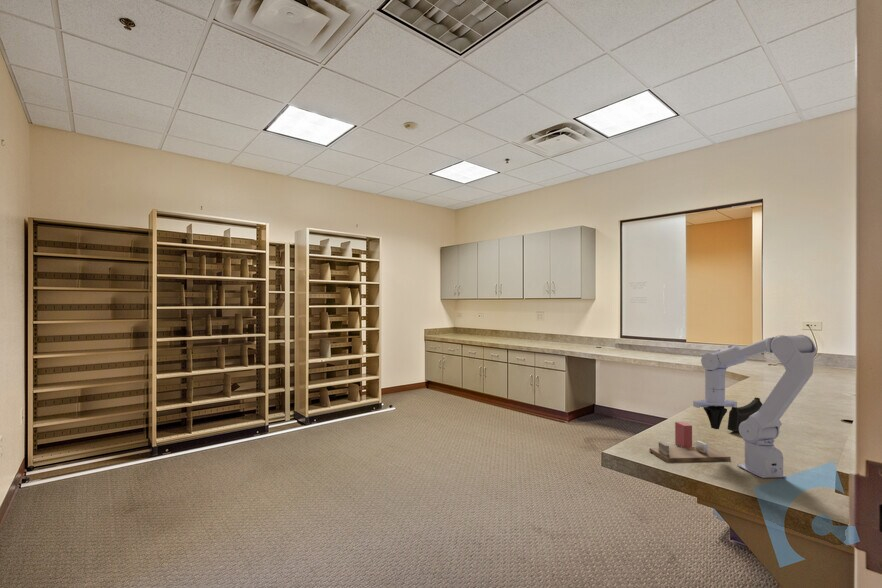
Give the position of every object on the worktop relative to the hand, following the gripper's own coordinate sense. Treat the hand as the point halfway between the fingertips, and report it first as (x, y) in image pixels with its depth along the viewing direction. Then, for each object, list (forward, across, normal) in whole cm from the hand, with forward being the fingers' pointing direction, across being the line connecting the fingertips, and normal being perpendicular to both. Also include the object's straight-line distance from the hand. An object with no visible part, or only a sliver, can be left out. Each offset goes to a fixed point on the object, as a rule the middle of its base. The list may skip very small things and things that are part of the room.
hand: (715, 428), depth 147 cm
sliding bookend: (+8, +5, 0) cm, 9 cm away
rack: (+9, +10, 0) cm, 13 cm away
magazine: (+10, -38, -31) cm, 50 cm away
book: (+9, +4, -10) cm, 14 cm away
